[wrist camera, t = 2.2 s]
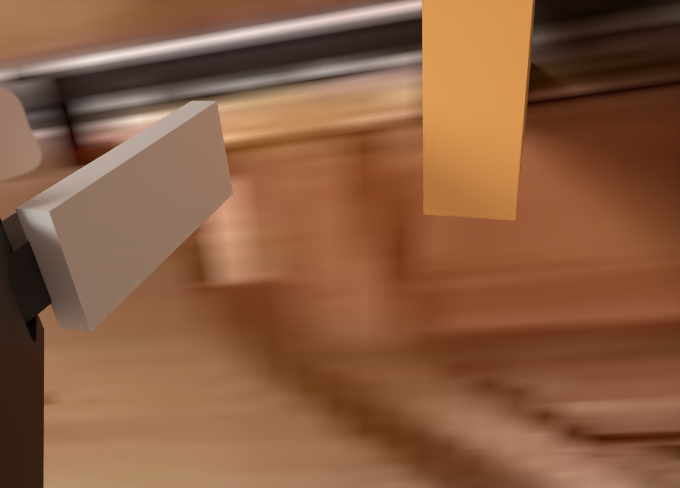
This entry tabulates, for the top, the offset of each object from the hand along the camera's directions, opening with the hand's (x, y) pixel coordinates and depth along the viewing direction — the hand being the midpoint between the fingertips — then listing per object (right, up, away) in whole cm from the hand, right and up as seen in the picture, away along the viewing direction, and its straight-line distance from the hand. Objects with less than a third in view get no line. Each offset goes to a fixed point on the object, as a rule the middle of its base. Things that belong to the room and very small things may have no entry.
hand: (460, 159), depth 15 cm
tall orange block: (+4, +8, +13) cm, 16 cm away
